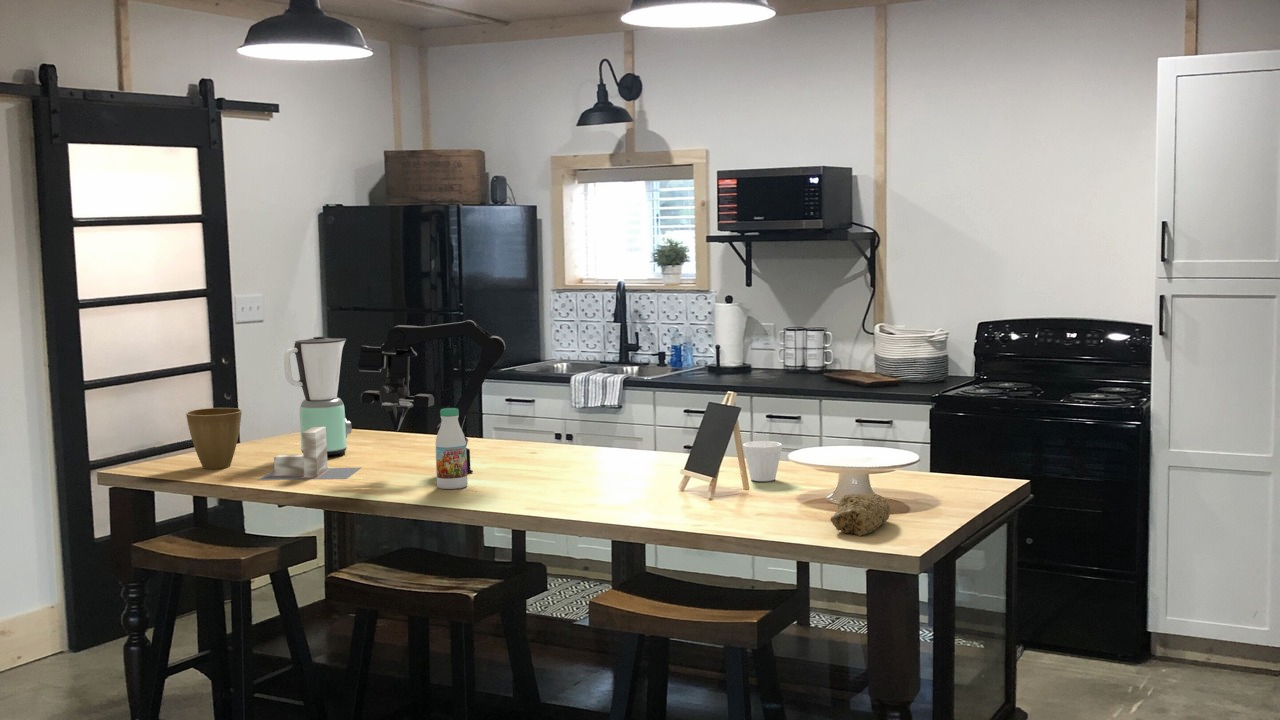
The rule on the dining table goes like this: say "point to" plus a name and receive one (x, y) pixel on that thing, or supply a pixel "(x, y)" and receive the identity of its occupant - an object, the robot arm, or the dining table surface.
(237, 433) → the plant pot
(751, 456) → the cup
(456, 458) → the milk bottle
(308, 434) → the l block
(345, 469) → the mat
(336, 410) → the blender
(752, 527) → the dining table surface
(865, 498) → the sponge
